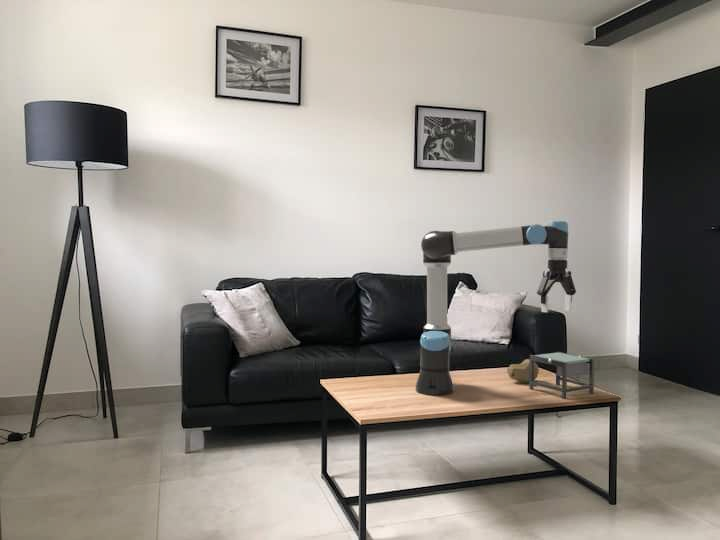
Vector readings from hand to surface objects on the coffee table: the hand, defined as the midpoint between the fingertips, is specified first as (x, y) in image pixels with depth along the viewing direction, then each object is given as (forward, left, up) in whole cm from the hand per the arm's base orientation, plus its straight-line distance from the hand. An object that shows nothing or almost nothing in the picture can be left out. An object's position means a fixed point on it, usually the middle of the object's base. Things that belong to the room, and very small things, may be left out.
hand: (556, 311), depth 242 cm
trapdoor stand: (0, -3, -32) cm, 32 cm away
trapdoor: (0, -3, -24) cm, 24 cm away
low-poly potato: (-1, +17, -33) cm, 36 cm away
